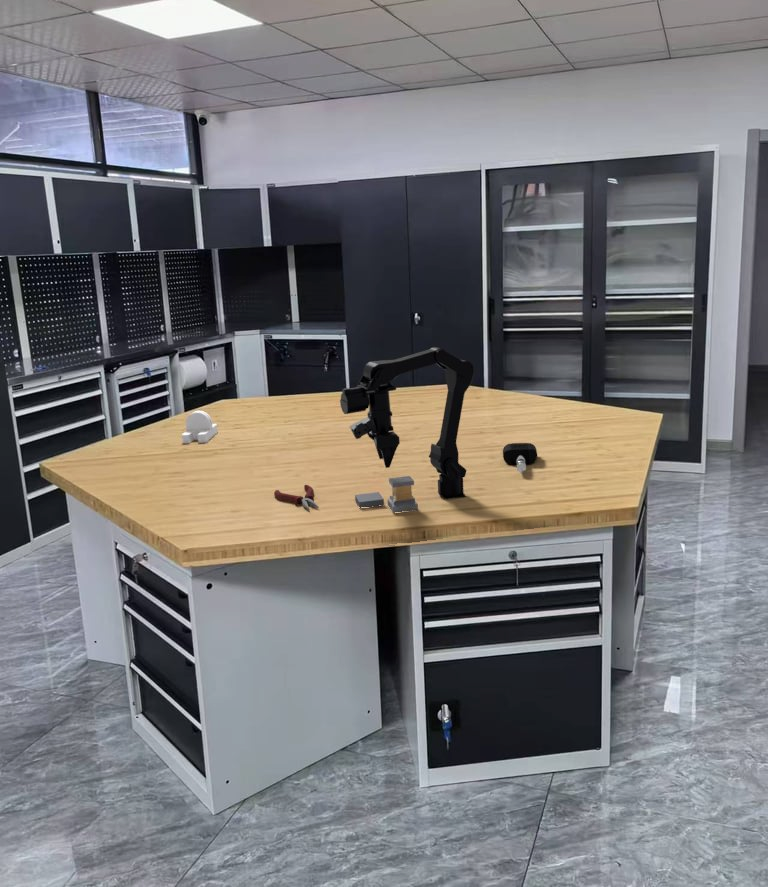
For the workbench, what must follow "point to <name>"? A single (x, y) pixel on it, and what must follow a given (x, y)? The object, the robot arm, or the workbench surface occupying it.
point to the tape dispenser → (199, 428)
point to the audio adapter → (520, 455)
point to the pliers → (298, 497)
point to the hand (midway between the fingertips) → (384, 463)
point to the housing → (401, 490)
